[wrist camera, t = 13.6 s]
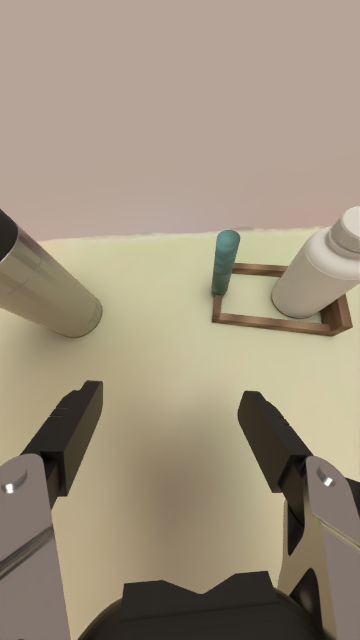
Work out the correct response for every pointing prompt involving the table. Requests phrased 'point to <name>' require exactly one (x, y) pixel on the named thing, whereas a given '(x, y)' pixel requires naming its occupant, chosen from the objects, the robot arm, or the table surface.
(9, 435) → the table surface
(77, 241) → the table surface
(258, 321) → the brown wooden frame
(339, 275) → the pill bottle
